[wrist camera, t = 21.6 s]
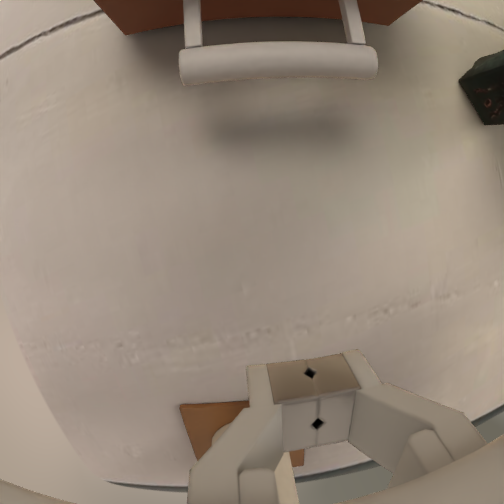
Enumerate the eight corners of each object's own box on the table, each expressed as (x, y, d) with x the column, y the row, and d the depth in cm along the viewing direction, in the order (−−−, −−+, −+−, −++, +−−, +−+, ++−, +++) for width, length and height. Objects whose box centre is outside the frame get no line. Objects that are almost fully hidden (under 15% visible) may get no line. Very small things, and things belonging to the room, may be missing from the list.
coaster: (202, 470, 20) (202, 474, 20) (179, 404, 18) (179, 408, 18) (302, 462, 21) (303, 465, 20) (304, 393, 19) (305, 397, 18)
